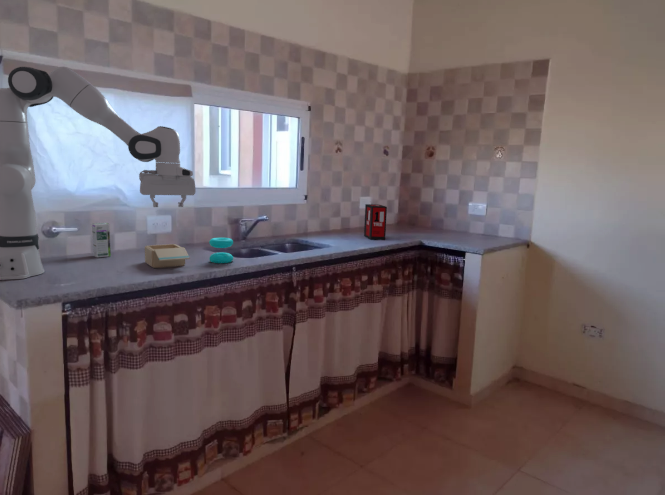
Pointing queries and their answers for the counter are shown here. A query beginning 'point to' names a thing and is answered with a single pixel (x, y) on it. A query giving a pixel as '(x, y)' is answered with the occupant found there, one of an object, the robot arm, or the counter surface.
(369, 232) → the cleaning product box
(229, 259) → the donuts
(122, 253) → the counter surface
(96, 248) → the syrup box
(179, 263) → the carton
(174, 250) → the flap
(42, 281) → the counter surface
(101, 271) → the counter surface
